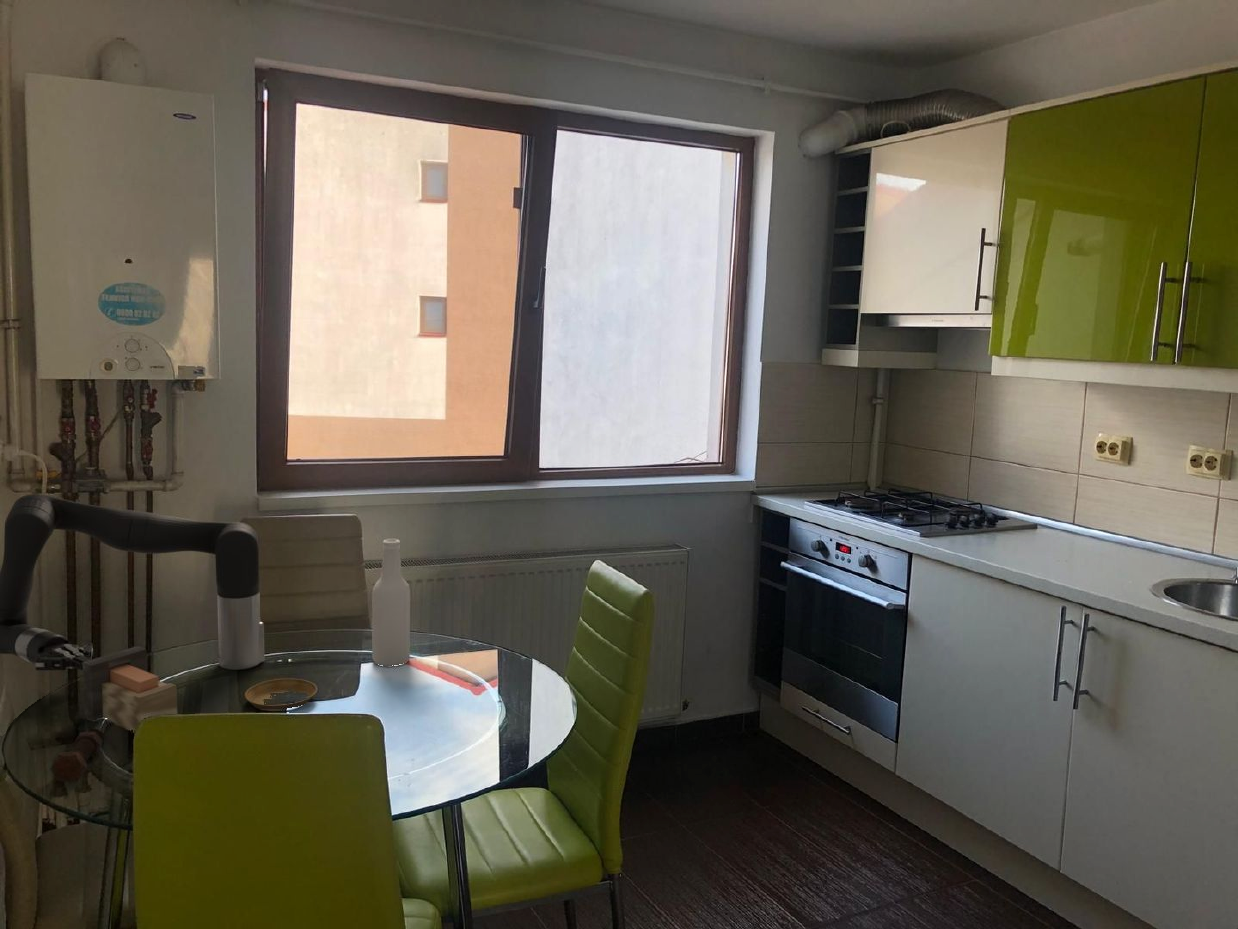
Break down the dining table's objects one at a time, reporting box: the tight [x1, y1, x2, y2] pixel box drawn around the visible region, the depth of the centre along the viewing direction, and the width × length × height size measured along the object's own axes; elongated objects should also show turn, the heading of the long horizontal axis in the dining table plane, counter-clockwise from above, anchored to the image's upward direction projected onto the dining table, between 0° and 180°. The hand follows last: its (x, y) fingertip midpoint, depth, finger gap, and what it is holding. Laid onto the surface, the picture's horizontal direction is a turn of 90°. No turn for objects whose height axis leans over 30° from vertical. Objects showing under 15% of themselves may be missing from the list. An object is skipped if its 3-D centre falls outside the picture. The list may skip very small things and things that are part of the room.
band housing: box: [82, 645, 178, 734], centre depth 204 cm, size 16×12×12 cm
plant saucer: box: [244, 678, 318, 713], centre depth 216 cm, size 15×15×3 cm
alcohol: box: [371, 538, 411, 666], centre depth 239 cm, size 9×9×30 cm
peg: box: [109, 663, 159, 694], centre depth 205 cm, size 13×4×4 cm, turn 58°
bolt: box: [49, 728, 105, 783], centre depth 186 cm, size 6×5×15 cm
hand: (88, 665), depth 211 cm, fingers closed
